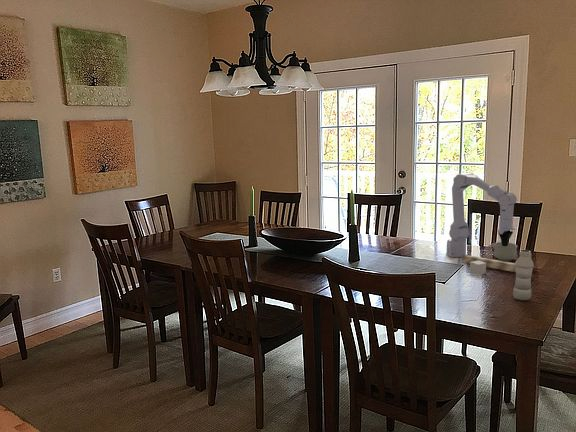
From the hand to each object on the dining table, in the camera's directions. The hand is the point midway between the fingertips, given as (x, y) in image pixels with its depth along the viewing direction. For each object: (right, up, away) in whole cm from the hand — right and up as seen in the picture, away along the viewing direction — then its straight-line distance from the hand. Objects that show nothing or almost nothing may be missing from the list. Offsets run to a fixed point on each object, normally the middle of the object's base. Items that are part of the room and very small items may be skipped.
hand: (504, 245), depth 232 cm
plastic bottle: (-12, -19, -41) cm, 47 cm away
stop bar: (-7, -10, +3) cm, 13 cm away
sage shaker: (+10, -10, 0) cm, 15 cm away
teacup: (+5, -8, +15) cm, 18 cm away
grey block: (-16, -12, -6) cm, 21 cm away
